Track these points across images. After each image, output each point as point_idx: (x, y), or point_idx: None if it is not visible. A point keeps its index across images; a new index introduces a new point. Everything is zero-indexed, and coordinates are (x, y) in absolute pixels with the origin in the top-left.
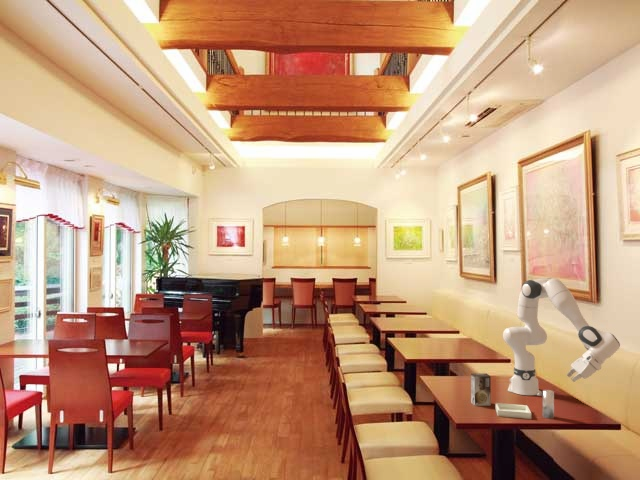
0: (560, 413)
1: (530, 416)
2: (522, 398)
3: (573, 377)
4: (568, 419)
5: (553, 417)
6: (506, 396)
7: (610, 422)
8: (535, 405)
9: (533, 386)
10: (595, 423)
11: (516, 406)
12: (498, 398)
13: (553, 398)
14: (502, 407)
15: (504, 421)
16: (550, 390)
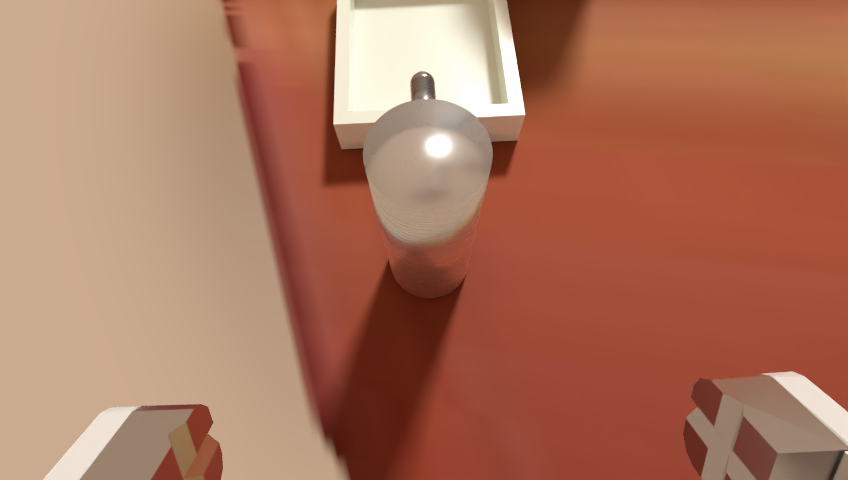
0: (563, 368)
1: (339, 135)
2: (840, 135)
3: (57, 471)
4: (415, 408)
5: (410, 292)
6: (819, 46)
7: None
8: (697, 205)
9: None
10: None
11: (499, 61)
12: (732, 4)
13: (399, 232)
14: (488, 5)
15: (258, 18)
16: (476, 178)
